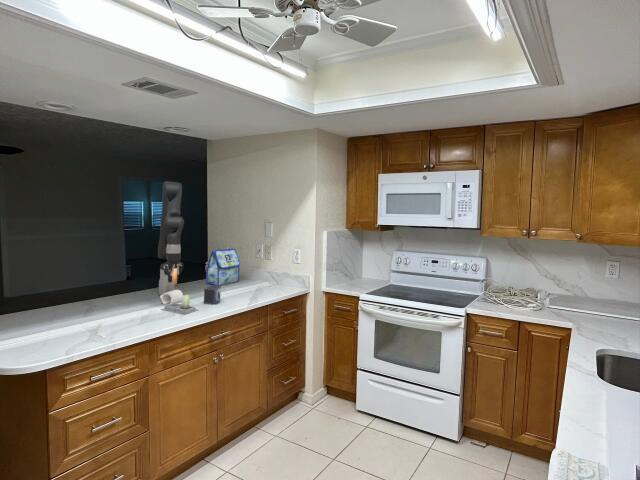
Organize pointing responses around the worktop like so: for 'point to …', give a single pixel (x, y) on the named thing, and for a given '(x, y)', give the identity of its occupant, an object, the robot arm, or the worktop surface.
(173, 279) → the jaw peg orange
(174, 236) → the robot arm
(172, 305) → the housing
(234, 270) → the lunch bag
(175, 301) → the mug
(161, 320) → the worktop surface
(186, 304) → the jaw peg olive
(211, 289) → the small box
